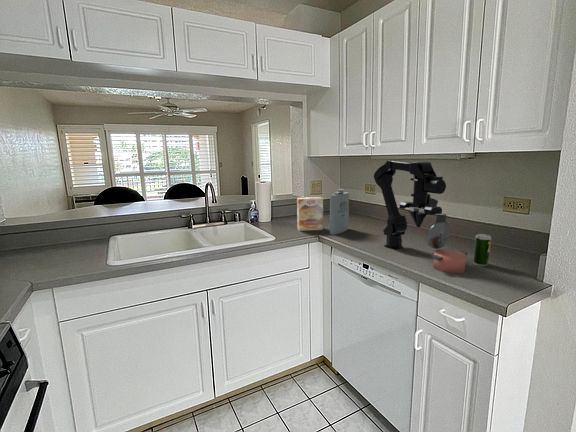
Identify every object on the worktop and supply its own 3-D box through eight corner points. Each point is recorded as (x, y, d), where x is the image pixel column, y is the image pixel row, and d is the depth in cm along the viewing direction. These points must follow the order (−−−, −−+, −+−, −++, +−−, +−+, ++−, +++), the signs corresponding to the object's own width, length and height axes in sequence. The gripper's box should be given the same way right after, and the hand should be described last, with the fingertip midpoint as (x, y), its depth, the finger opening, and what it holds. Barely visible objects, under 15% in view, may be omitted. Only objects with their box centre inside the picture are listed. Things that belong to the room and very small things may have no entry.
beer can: (473, 265, 125) (475, 236, 122) (472, 261, 129) (475, 233, 127) (488, 267, 122) (492, 237, 120) (487, 263, 127) (491, 234, 124)
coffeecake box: (298, 231, 186) (298, 199, 182) (297, 228, 193) (296, 197, 189) (323, 229, 188) (323, 198, 184) (320, 227, 195) (320, 196, 191)
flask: (335, 235, 176) (336, 191, 171) (328, 233, 178) (329, 190, 174) (350, 229, 189) (351, 188, 184) (343, 228, 192) (344, 187, 187)
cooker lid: (427, 250, 124) (425, 249, 125) (448, 246, 128) (446, 246, 129) (431, 216, 120) (429, 215, 121) (453, 213, 124) (451, 213, 125)
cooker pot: (421, 265, 125) (422, 251, 124) (449, 260, 130) (450, 246, 129) (445, 276, 114) (447, 260, 113) (475, 269, 120) (476, 254, 119)
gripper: (453, 192, 126) (450, 229, 129) (418, 188, 143) (416, 221, 146) (432, 194, 122) (430, 232, 125) (399, 190, 139) (397, 223, 142)
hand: (418, 227), depth 135 cm, fingers closed
